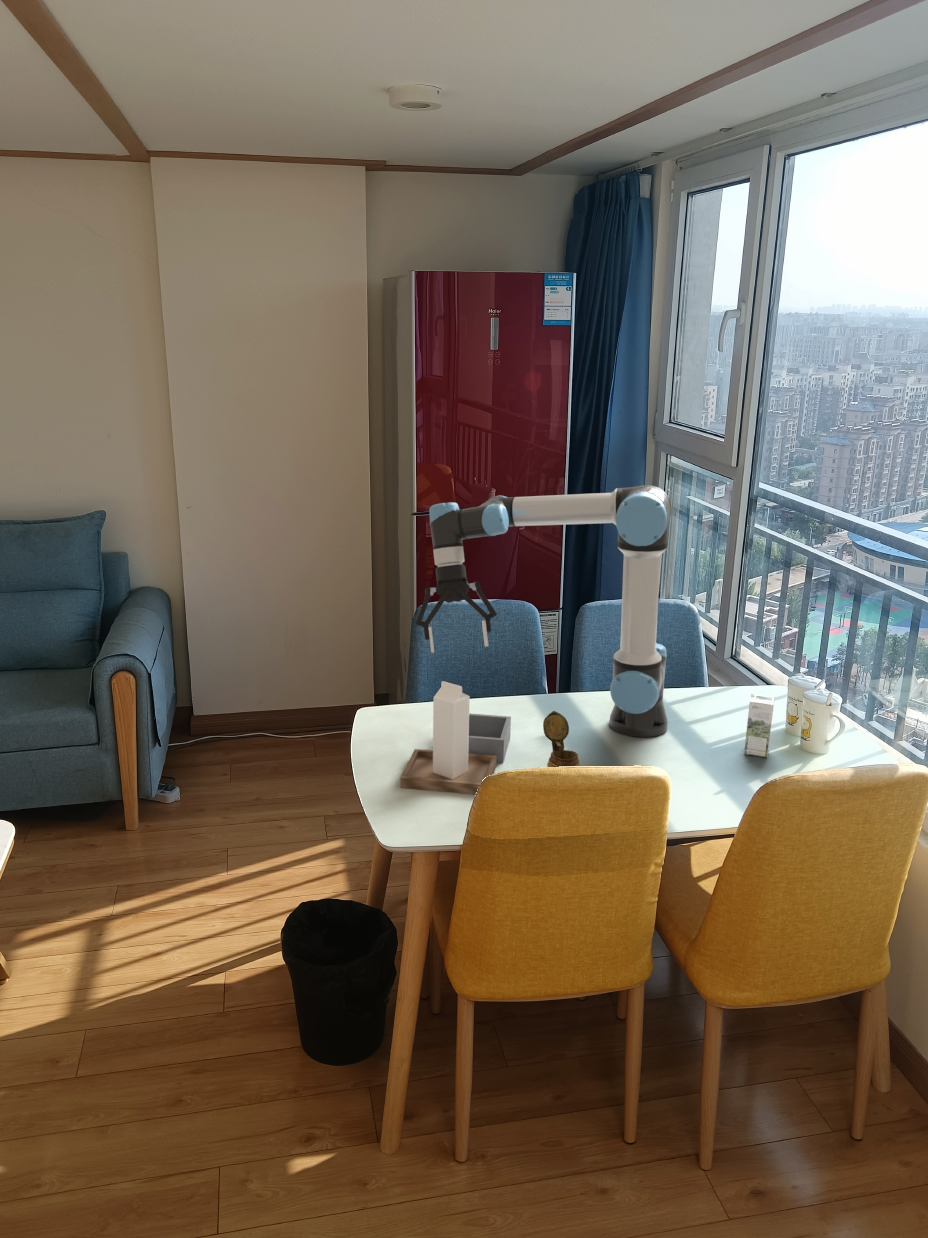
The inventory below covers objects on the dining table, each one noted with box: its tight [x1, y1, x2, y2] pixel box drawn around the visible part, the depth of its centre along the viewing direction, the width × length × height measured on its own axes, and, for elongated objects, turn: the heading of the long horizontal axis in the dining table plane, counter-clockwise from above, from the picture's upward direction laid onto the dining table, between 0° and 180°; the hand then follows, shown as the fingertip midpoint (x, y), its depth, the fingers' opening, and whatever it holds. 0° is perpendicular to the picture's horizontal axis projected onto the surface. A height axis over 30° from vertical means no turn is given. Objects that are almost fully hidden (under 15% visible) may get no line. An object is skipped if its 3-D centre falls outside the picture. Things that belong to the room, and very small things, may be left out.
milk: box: [432, 680, 470, 780], centre depth 225 cm, size 6×6×22 cm
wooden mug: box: [542, 710, 581, 768], centre depth 217 cm, size 9×14×18 cm, turn 13°
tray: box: [399, 748, 497, 795], centre depth 228 cm, size 20×16×2 cm
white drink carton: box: [743, 693, 775, 758], centre depth 242 cm, size 6×6×14 cm
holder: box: [468, 712, 512, 764], centre depth 243 cm, size 15×15×6 cm
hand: (459, 649), depth 245 cm, fingers open, 13 cm apart
